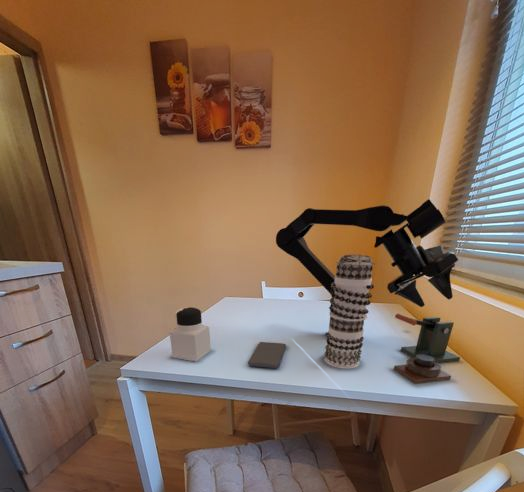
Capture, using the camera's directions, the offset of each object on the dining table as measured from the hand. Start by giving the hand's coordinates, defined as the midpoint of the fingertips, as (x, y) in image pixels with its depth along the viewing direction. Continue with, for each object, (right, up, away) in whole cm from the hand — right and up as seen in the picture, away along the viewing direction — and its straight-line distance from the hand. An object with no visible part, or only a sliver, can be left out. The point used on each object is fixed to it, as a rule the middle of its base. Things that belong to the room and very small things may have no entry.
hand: (436, 302), depth 71 cm
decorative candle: (-25, -15, -2) cm, 29 cm away
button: (-9, -15, -9) cm, 20 cm away
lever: (-5, -7, -2) cm, 9 cm away
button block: (-9, -18, -8) cm, 21 cm away
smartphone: (-43, -14, +1) cm, 45 cm away
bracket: (-1, -14, +2) cm, 14 cm away
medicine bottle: (-62, -13, +1) cm, 64 cm away
